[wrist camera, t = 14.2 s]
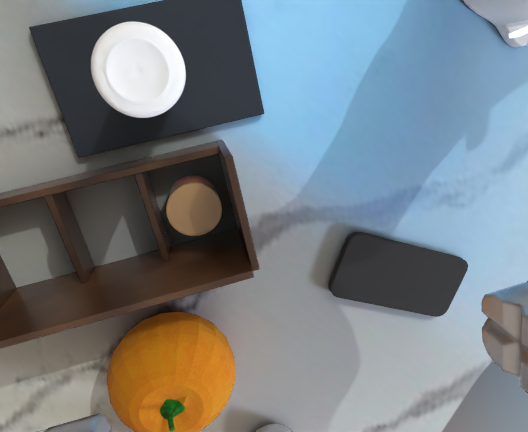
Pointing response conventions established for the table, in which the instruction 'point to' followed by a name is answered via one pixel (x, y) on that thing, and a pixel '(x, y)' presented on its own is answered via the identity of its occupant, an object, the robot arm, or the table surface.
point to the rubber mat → (196, 65)
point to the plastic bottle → (274, 428)
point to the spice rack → (128, 270)
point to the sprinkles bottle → (138, 69)
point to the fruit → (171, 374)
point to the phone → (396, 275)
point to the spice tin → (193, 206)
